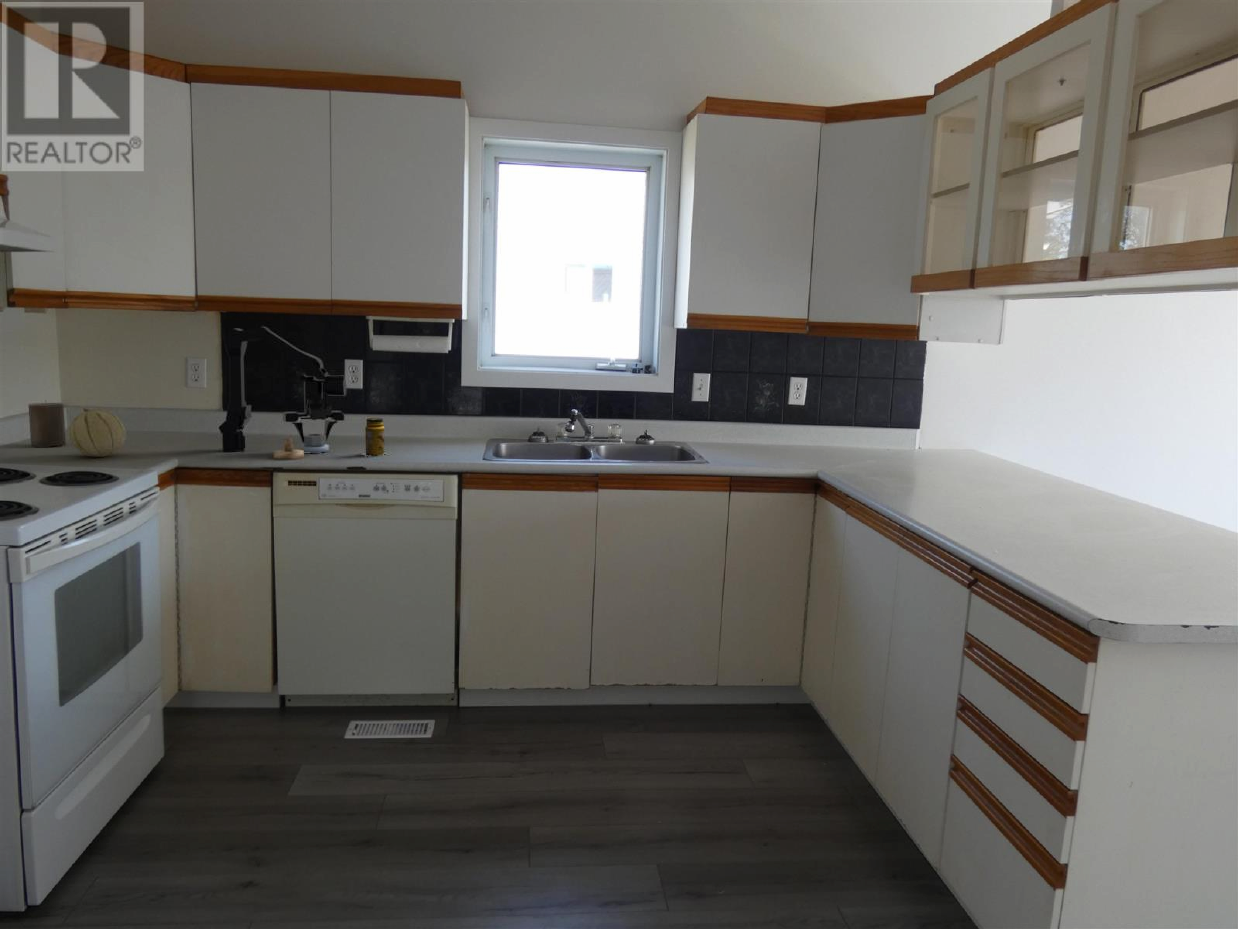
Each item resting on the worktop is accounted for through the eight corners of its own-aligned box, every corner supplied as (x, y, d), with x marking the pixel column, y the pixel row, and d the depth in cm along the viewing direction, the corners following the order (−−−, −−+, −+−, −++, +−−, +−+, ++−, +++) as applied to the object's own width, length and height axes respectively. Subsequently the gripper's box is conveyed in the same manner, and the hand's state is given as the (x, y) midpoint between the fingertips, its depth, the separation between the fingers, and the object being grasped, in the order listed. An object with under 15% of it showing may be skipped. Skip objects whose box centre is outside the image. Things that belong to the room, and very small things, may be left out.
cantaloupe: (133, 457, 270) (130, 409, 267) (78, 462, 260) (75, 411, 257) (117, 451, 280) (115, 404, 278) (64, 455, 270) (61, 406, 267)
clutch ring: (305, 445, 288) (305, 436, 288) (301, 442, 294) (301, 434, 294) (327, 445, 292) (327, 436, 291) (322, 442, 298) (322, 433, 297)
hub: (303, 454, 287) (303, 438, 287) (297, 450, 295) (297, 435, 294) (331, 452, 292) (331, 437, 291) (325, 448, 300) (325, 434, 299)
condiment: (389, 455, 292) (389, 419, 290) (366, 457, 286) (365, 420, 284) (378, 452, 297) (378, 416, 295) (355, 454, 291) (354, 418, 289)
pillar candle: (64, 447, 285) (61, 400, 283) (28, 447, 281) (25, 401, 279) (67, 443, 294) (65, 398, 291) (33, 444, 289) (30, 398, 287)
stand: (276, 460, 274) (275, 441, 273) (271, 456, 282) (270, 437, 281) (306, 458, 278) (306, 440, 277) (300, 454, 286) (300, 436, 285)
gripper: (288, 397, 279) (289, 446, 281) (348, 397, 288) (348, 444, 291) (281, 394, 288) (283, 441, 291) (340, 394, 298) (340, 439, 300)
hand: (314, 442), depth 293 cm, fingers closed on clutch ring, 7 cm apart
